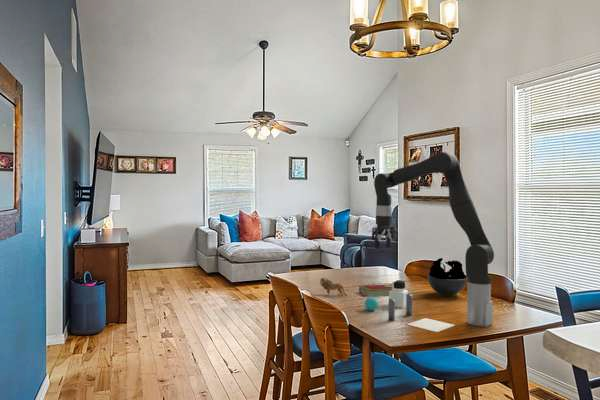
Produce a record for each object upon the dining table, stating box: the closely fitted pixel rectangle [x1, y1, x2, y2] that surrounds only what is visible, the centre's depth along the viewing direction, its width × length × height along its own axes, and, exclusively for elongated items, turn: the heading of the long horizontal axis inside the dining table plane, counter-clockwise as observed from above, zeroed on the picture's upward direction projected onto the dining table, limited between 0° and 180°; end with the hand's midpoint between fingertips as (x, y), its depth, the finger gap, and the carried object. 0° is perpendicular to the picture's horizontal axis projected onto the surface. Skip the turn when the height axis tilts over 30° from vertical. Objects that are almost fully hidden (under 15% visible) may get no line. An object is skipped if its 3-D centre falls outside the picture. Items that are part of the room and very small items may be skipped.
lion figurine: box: [319, 277, 348, 298], centre depth 245 cm, size 15×5×9 cm, turn 72°
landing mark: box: [406, 317, 456, 333], centre depth 192 cm, size 14×14×1 cm
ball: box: [364, 296, 379, 312], centre depth 215 cm, size 6×6×6 cm
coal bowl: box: [427, 257, 468, 297], centre depth 247 cm, size 20×20×19 cm
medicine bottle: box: [388, 279, 409, 309], centre depth 224 cm, size 7×7×12 cm
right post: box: [405, 293, 413, 317], centre depth 208 cm, size 3×3×9 cm
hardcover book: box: [358, 283, 393, 297], centre depth 251 cm, size 12×21×4 cm, turn 106°
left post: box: [387, 298, 396, 322], centre depth 199 cm, size 3×3×9 cm
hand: (382, 248), depth 226 cm, fingers open, 8 cm apart
